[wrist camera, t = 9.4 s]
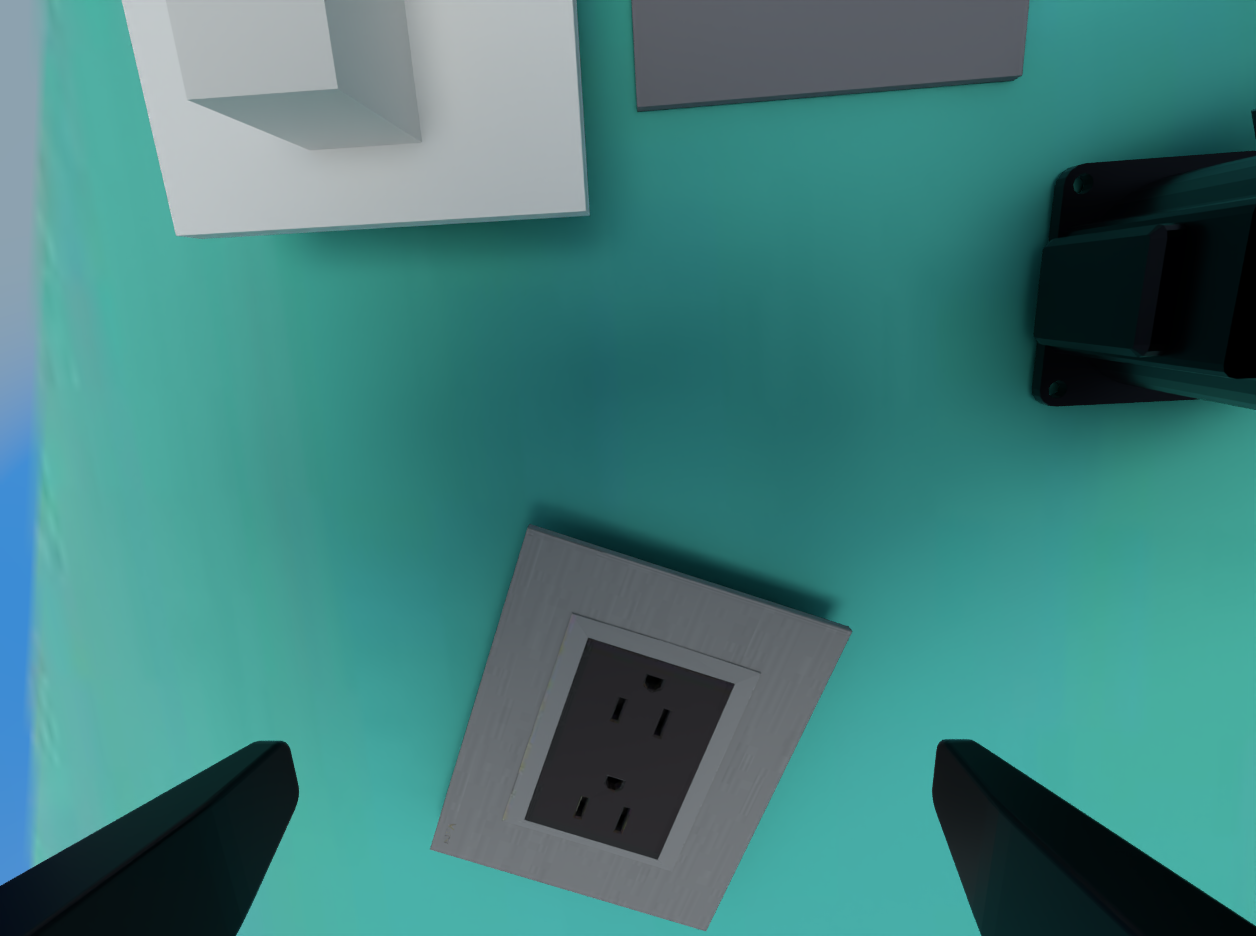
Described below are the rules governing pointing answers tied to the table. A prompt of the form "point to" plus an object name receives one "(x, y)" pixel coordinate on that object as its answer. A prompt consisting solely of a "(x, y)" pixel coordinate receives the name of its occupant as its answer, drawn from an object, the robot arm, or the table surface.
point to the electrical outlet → (630, 728)
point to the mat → (818, 47)
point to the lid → (362, 112)
